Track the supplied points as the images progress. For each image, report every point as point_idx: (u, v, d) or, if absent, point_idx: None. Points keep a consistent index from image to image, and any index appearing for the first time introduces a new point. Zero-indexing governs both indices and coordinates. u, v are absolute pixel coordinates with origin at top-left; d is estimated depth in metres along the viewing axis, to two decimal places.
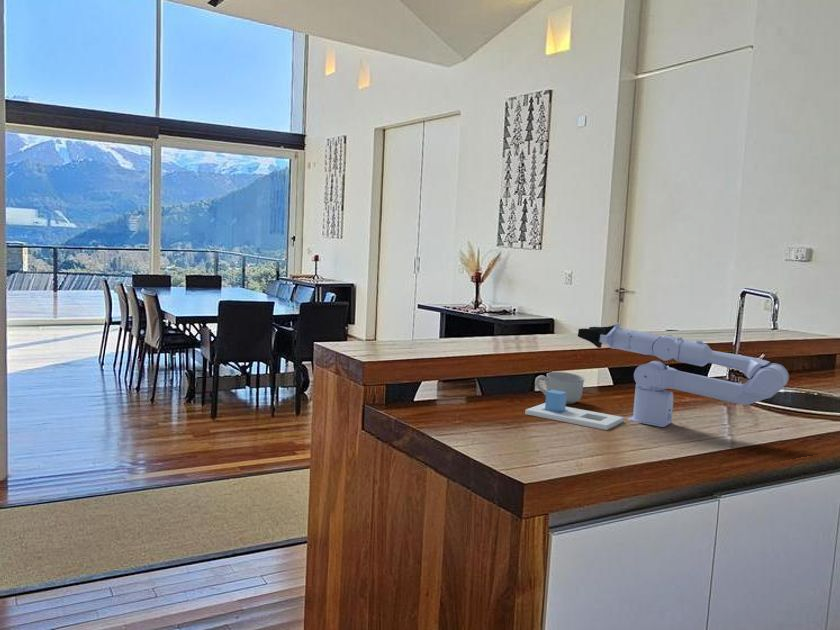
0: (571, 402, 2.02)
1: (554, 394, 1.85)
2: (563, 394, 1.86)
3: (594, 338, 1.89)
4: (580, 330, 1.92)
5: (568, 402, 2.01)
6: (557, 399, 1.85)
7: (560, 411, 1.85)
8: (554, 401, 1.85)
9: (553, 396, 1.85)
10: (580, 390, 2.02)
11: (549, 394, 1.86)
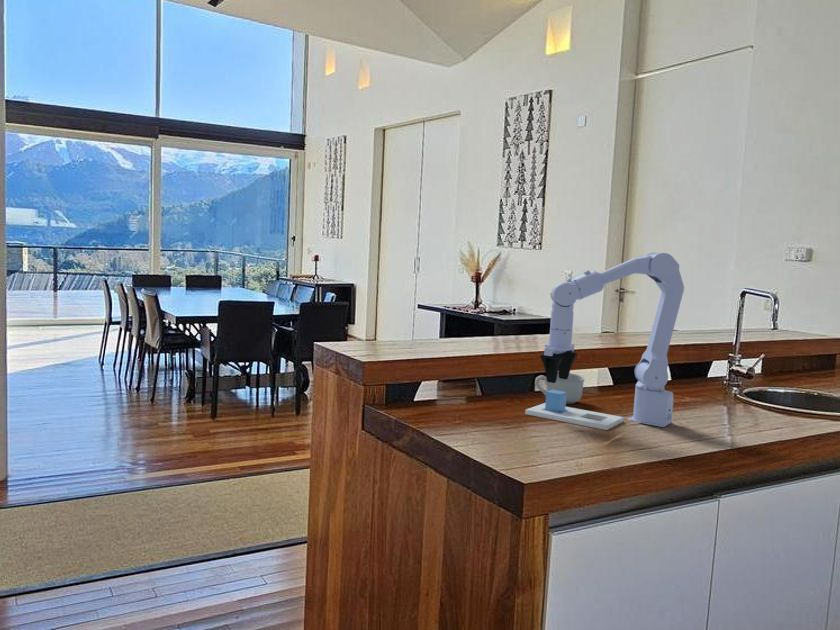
0: (571, 402, 2.02)
1: (554, 394, 1.85)
2: (563, 394, 1.86)
3: (554, 364, 1.82)
4: (548, 379, 1.84)
5: (568, 402, 2.01)
6: (557, 399, 1.85)
7: (560, 411, 1.85)
8: (554, 401, 1.85)
9: (553, 396, 1.85)
10: (580, 390, 2.02)
11: (549, 394, 1.86)
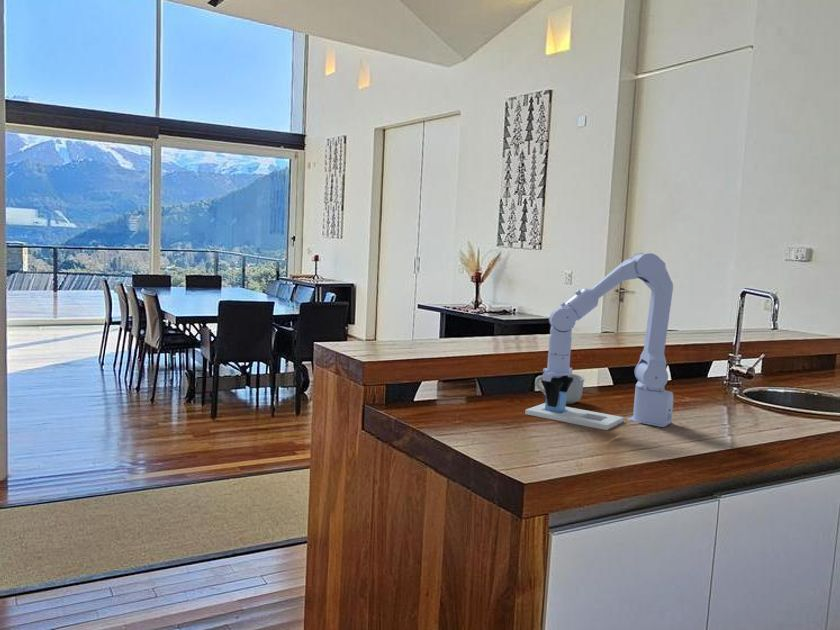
0: (571, 402, 2.02)
1: None
2: (563, 394, 1.86)
3: (554, 388, 1.84)
4: (549, 403, 1.85)
5: (568, 402, 2.01)
6: None
7: (560, 411, 1.85)
8: None
9: None
10: (580, 390, 2.02)
11: None
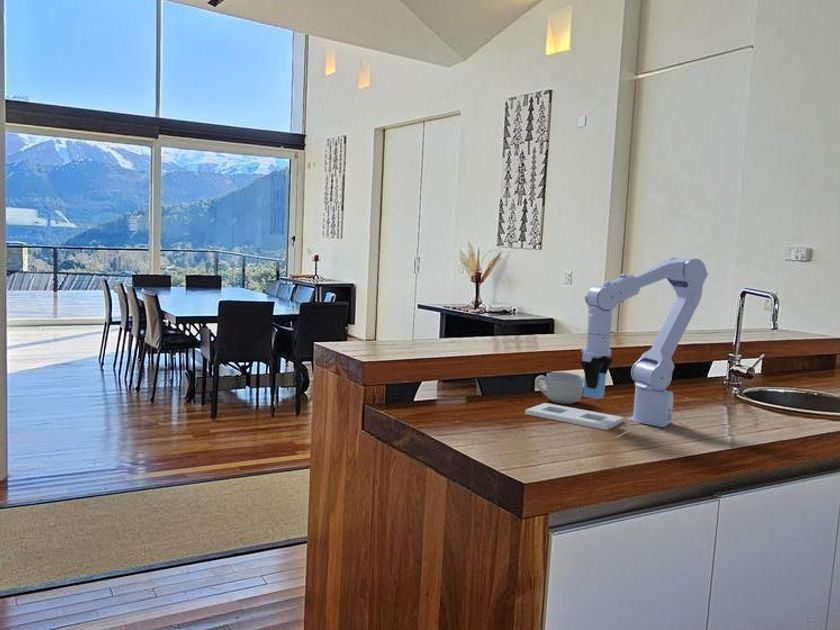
0: (571, 402, 2.02)
1: None
2: (602, 375, 1.80)
3: (594, 369, 1.78)
4: (588, 385, 1.79)
5: (568, 402, 2.01)
6: None
7: (599, 392, 1.79)
8: None
9: None
10: (580, 390, 2.02)
11: None
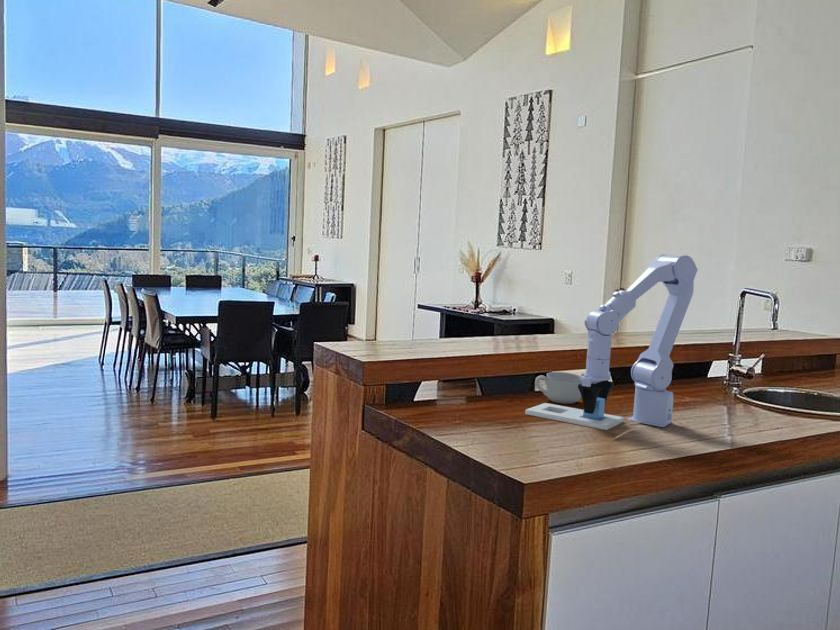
0: (571, 402, 2.02)
1: None
2: (602, 401, 1.80)
3: (592, 395, 1.77)
4: (585, 410, 1.78)
5: (568, 402, 2.01)
6: (596, 406, 1.79)
7: (599, 418, 1.79)
8: None
9: None
10: None
11: None
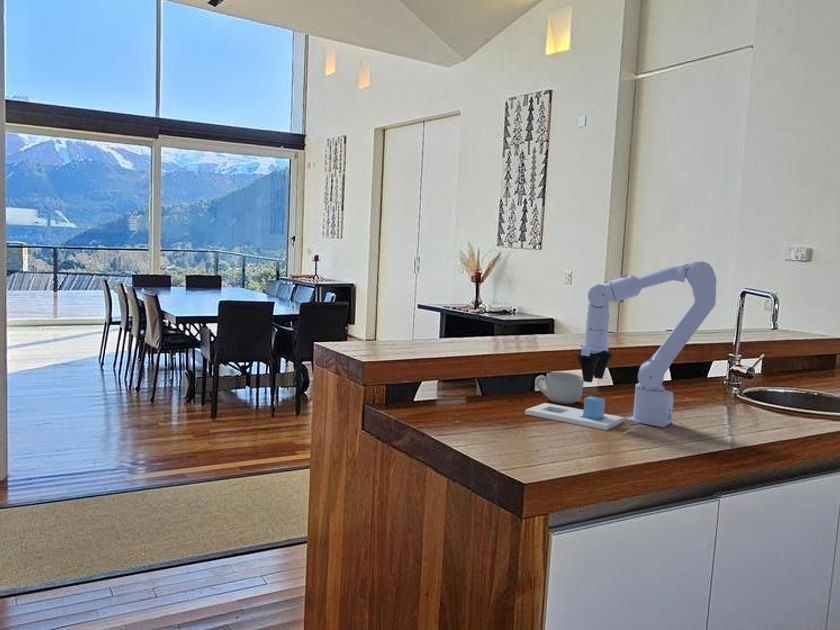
0: (571, 402, 2.02)
1: (593, 401, 1.79)
2: (602, 401, 1.80)
3: (590, 364, 1.86)
4: (584, 379, 1.87)
5: (568, 402, 2.01)
6: (596, 406, 1.79)
7: (599, 418, 1.79)
8: (593, 408, 1.79)
9: (592, 403, 1.79)
10: (580, 390, 2.02)
11: (588, 400, 1.80)
